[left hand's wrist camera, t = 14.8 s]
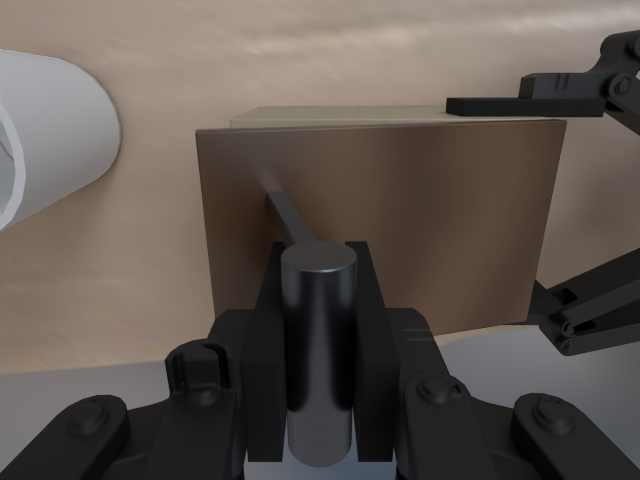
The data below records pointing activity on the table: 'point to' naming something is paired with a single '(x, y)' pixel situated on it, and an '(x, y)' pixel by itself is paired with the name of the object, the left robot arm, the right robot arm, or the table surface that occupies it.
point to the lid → (374, 238)
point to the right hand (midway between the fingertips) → (442, 209)
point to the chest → (352, 116)
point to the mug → (50, 132)
